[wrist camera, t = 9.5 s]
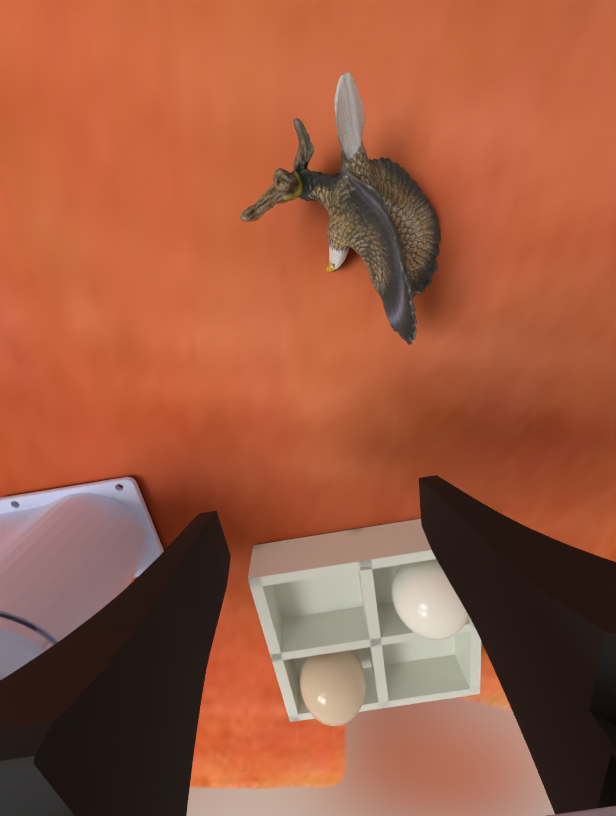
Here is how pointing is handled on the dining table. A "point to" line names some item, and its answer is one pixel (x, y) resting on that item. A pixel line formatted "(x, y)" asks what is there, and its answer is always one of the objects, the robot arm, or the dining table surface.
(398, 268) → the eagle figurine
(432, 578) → the cream egg
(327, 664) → the brown egg
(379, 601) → the egg tray
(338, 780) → the dining table surface
